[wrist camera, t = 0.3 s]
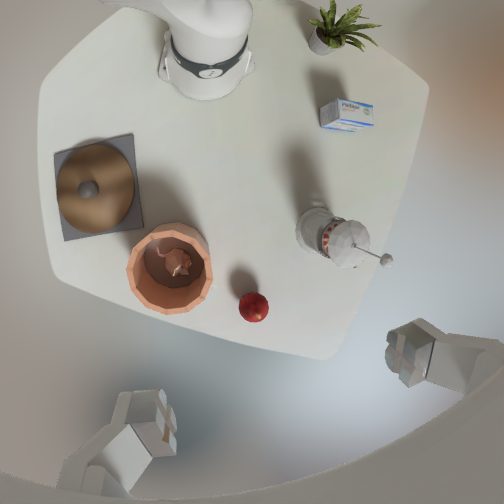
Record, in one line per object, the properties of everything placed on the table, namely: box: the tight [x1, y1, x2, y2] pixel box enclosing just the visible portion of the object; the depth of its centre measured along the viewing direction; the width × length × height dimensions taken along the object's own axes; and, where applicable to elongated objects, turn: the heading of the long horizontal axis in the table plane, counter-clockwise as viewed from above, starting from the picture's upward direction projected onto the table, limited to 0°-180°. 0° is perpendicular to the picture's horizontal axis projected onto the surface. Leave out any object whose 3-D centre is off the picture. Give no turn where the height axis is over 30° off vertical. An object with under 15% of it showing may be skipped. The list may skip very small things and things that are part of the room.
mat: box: [54, 135, 144, 241], centre depth 47 cm, size 18×18×1 cm
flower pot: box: [126, 222, 213, 315], centre depth 49 cm, size 14×14×10 cm
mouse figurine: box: [156, 247, 192, 276], centre depth 50 cm, size 5×8×7 cm, turn 55°
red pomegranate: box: [239, 293, 269, 322], centre depth 55 cm, size 6×6×8 cm
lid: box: [57, 145, 135, 234], centre depth 45 cm, size 17×17×5 cm
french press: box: [296, 207, 393, 268], centre depth 46 cm, size 10×12×25 cm
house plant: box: [307, 0, 380, 55], centre depth 41 cm, size 14×14×16 cm
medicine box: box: [320, 98, 374, 132], centre depth 49 cm, size 8×4×9 cm, turn 91°
